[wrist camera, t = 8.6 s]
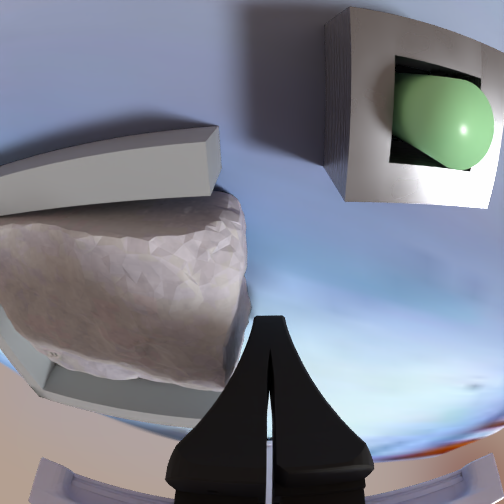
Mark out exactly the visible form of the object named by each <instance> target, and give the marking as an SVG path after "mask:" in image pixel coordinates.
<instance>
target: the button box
mask: <svg viewBox="0 0 504 504" xmlns="http://www.w3.org/2000/svg"><path fill="white" fill-rule="evenodd" d="M324 28H325V69H326V101H325V145H324V168H325V170H326V172H327V173H328V175H329V176H330V178H331V180H332V181H333V183H334V185H335V186H336V188H337V189H338V191H339V193H340V194H341V196H342V198H343V200H344V201H345V202H386V203H412V204H432V205H449V206H464V207H477V208H487V207H488V203H489V199H490V195H491V191H492V187H493V183H494V178H495V173H496V168H497V163H498V158H499V152H500V145H501V139H502V131H503V123H504V53H503V52H501V51H499V50H497V49H494V48H492V47H490V46H488V45H486V44H483V43H481V42H478V41H476V40H474V39H471V38H469V37H466V36H463V35H461V34H458V33H455V32H453V31H450V30H447V29H444V28H441V27H438V26H435V25H431V24H428V23H425V22H421V21H417V20H414V19H410V18H406V17H402V16H398V15H393V14H389V13H384V12H379V11H374V10H368V9H363V8H356V7H348V8H347V9H345V10H344V11H343V12H341V13H340V14H339V15H337V16H336V17H335V18H333V19H332V20H331V21H329V22H328V23H327V24H325V25H324ZM395 65H400V66H405V67H410V68H415V69H419V70H424V71H428V72H431V75H432V76H440V77H448V78H455V79H462V80H466V81H469V82H471V83H473V84H474V85H476V86H477V87H478V88H479V89H480V90H481V91H482V92H483V93H484V95H485V96H486V98H487V99H488V101H489V103H490V106H491V108H492V112H493V116H494V136H493V140H492V144H491V146H490V149H489V151H488V153H487V154H486V156H485V157H484V158H483V159H482V160H481V161H480V162H479V163H478V164H477V165H475V166H474V167H472V168H469V169H466V170H454V169H451V168H448V167H446V166H444V165H443V164H441V163H440V162H438V161H437V160H435V159H433V158H432V157H430V156H429V155H427V154H425V153H424V152H422V151H420V150H419V149H417V148H415V147H414V146H412V145H410V144H408V143H407V142H398V141H391V136H392V123H393V107H394V83H395Z"/></svg>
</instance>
